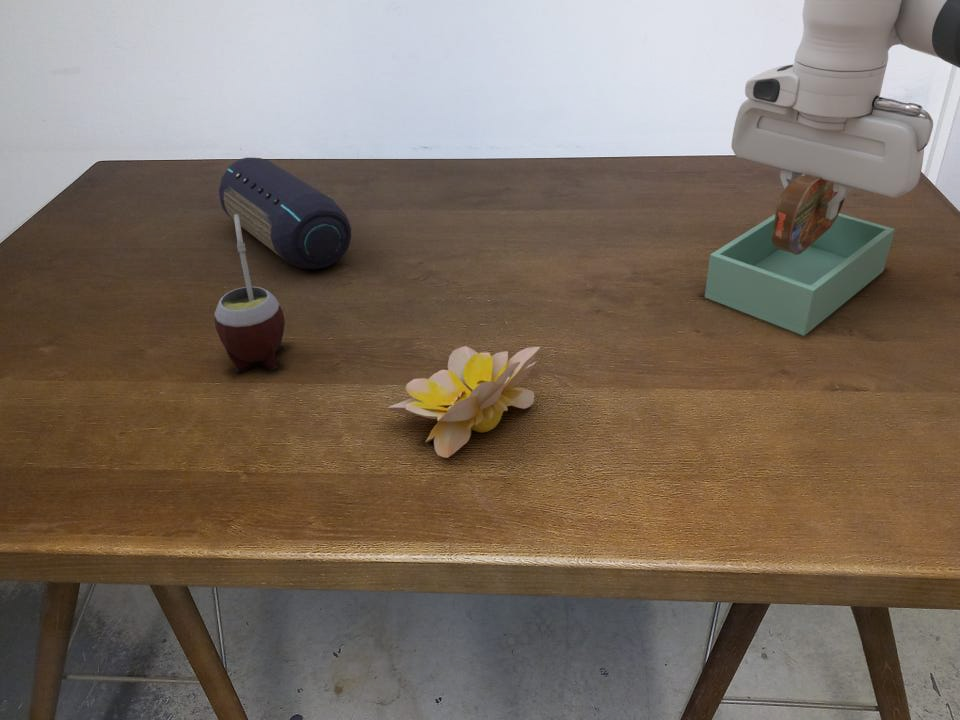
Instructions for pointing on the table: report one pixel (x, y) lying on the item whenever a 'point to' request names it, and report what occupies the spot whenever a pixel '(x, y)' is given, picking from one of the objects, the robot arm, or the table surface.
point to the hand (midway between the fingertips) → (810, 211)
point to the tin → (802, 213)
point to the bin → (797, 272)
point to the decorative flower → (469, 395)
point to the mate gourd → (249, 321)
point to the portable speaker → (285, 213)
